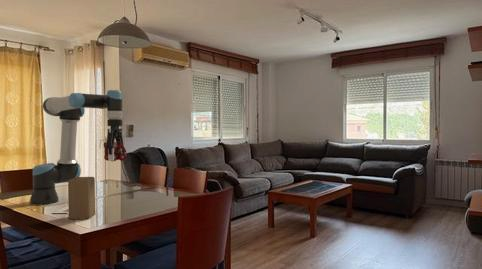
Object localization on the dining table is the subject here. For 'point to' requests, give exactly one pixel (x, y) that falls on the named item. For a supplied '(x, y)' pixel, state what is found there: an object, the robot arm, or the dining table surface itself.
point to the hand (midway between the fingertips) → (115, 159)
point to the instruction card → (63, 210)
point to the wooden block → (81, 197)
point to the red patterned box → (117, 148)
